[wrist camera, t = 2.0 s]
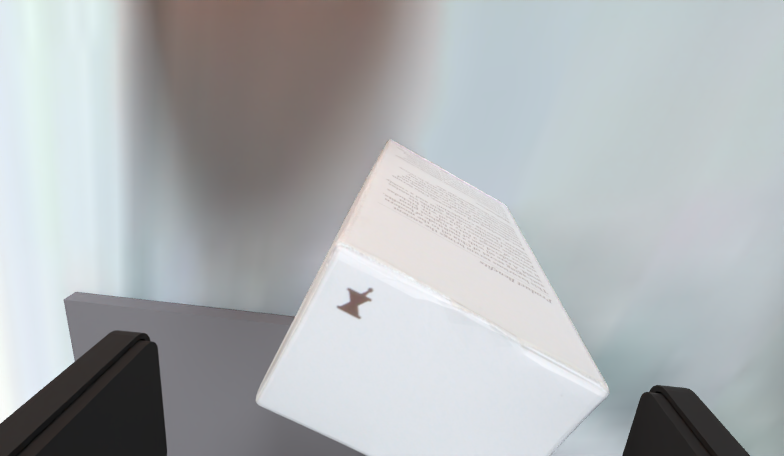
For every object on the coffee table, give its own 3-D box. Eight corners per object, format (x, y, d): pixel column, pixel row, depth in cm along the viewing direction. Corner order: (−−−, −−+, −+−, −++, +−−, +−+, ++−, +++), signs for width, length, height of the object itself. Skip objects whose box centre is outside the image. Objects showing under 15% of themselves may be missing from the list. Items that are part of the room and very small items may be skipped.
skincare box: (344, 219, 20) (240, 403, 9) (389, 136, 19) (333, 233, 8) (459, 282, 21) (495, 527, 10) (512, 205, 20) (624, 389, 8)
